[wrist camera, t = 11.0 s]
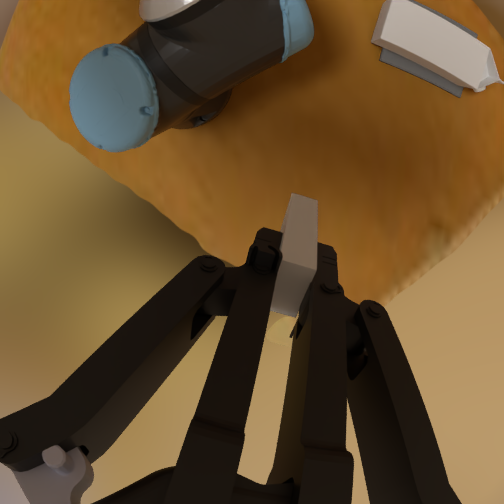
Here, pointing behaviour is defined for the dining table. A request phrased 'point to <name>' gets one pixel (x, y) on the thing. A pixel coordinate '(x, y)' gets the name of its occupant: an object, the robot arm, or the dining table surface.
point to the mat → (419, 70)
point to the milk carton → (435, 44)
